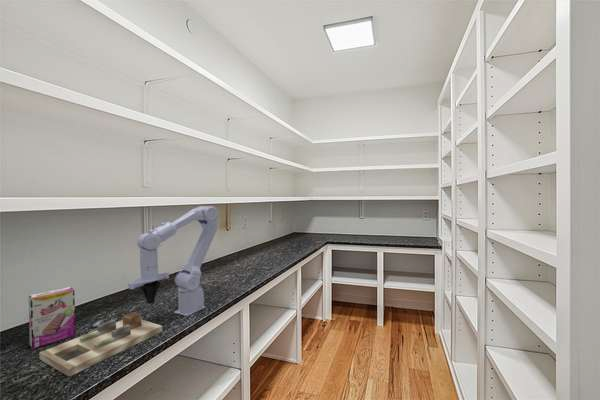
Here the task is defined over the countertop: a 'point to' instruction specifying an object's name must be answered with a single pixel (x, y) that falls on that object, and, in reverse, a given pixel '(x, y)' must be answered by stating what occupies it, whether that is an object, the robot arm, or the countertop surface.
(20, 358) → the countertop surface
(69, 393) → the countertop surface
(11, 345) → the countertop surface
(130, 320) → the walnut block
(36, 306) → the candy bar box
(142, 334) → the board
